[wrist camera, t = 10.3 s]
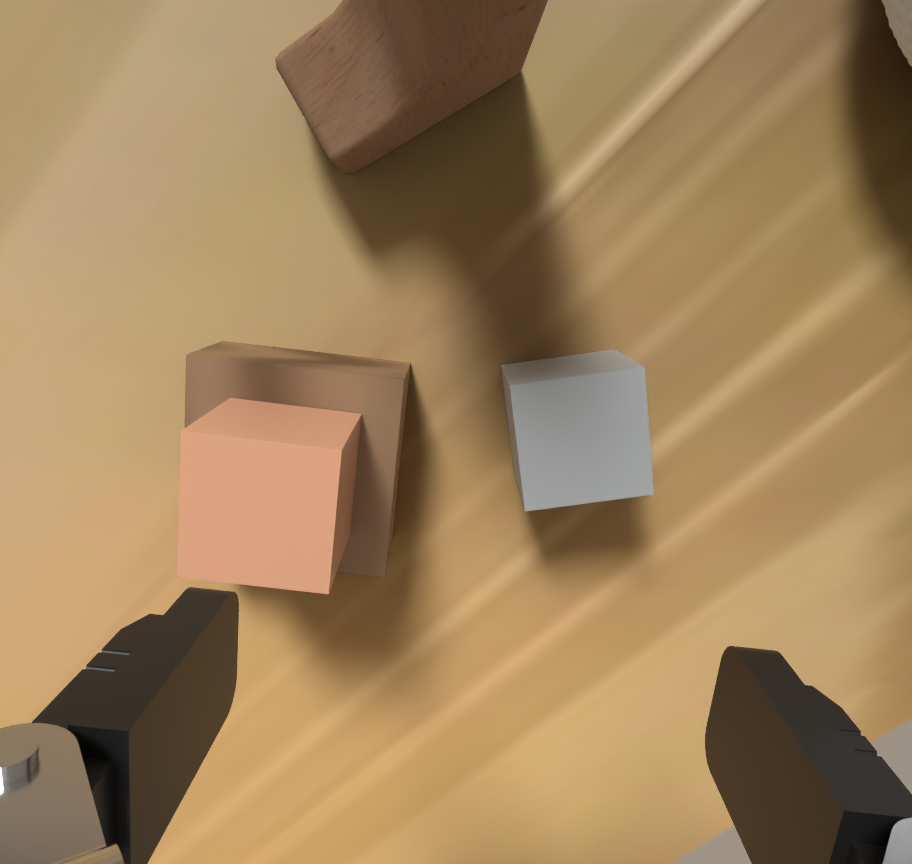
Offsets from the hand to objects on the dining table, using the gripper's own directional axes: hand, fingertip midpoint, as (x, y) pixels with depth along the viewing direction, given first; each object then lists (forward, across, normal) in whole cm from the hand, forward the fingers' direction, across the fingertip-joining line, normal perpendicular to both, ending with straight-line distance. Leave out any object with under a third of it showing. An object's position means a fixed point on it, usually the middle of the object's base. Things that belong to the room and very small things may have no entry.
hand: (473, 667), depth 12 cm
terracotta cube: (+18, +8, +3) cm, 20 cm away
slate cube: (+24, -4, 0) cm, 24 cm away
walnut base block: (+23, +8, +3) cm, 25 cm away
